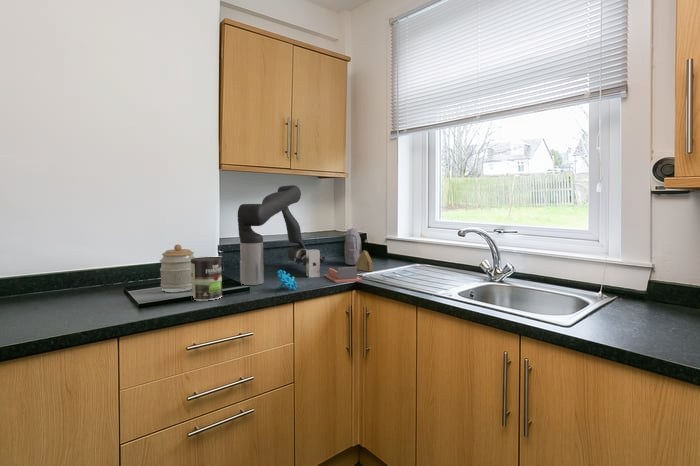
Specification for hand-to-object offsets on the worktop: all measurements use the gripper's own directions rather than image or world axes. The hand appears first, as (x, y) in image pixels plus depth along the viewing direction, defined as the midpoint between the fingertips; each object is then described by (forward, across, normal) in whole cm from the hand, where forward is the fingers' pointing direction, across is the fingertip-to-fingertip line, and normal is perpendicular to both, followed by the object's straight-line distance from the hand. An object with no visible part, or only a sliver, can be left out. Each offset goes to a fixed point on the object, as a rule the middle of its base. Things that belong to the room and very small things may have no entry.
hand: (314, 261), depth 172 cm
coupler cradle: (+8, +11, +7) cm, 15 cm away
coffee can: (+23, -46, +7) cm, 52 cm away
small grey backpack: (-26, +30, +7) cm, 40 cm away
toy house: (-8, +28, +7) cm, 30 cm away
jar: (+5, -56, +7) cm, 57 cm away
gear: (+19, -16, +7) cm, 26 cm away
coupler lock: (-2, 0, +7) cm, 7 cm away
